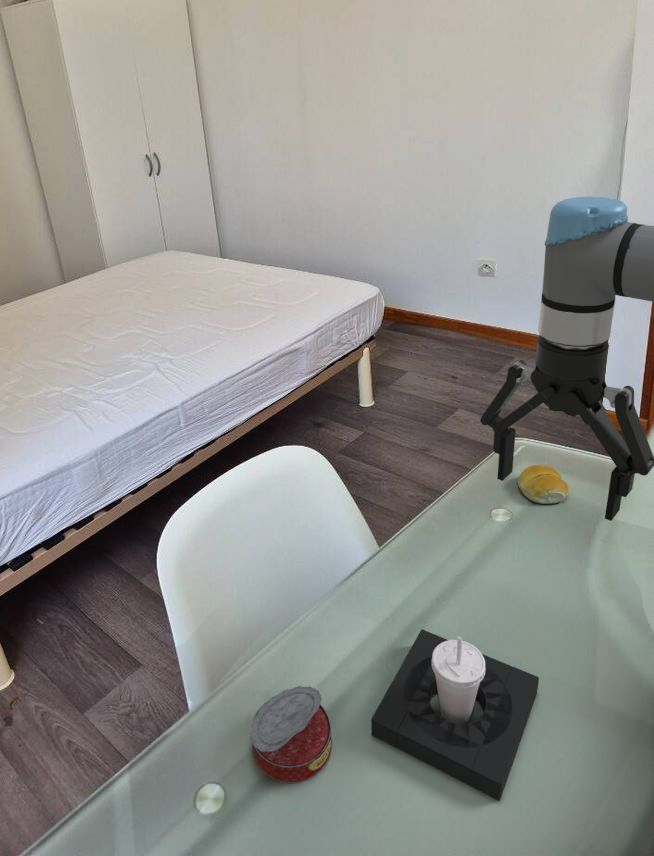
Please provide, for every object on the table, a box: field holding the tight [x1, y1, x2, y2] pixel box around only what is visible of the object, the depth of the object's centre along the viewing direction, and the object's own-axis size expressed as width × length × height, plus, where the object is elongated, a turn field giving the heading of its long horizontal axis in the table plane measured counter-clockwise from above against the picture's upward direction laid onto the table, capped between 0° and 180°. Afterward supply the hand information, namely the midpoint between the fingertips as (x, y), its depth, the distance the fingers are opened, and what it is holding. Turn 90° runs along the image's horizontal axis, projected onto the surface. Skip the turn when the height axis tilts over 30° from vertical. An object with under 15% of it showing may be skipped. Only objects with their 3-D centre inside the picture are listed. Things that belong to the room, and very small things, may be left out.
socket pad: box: [370, 628, 540, 802], centre depth 87 cm, size 16×16×3 cm
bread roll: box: [517, 464, 570, 505], centre depth 126 cm, size 8×9×4 cm
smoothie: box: [431, 635, 486, 724], centre depth 85 cm, size 6×6×14 cm
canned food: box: [249, 685, 333, 784], centre depth 84 cm, size 11×10×10 cm
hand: (555, 494), depth 86 cm, fingers open, 13 cm apart
